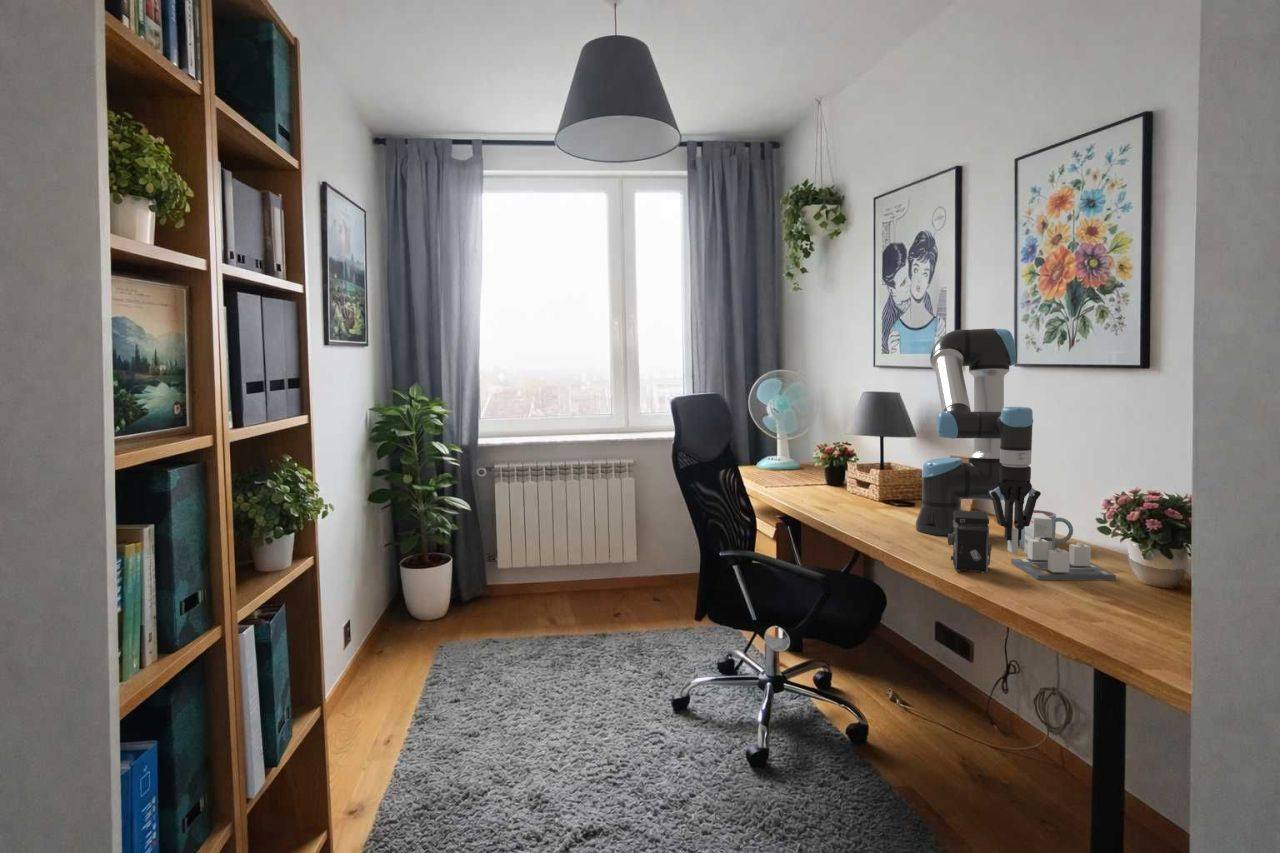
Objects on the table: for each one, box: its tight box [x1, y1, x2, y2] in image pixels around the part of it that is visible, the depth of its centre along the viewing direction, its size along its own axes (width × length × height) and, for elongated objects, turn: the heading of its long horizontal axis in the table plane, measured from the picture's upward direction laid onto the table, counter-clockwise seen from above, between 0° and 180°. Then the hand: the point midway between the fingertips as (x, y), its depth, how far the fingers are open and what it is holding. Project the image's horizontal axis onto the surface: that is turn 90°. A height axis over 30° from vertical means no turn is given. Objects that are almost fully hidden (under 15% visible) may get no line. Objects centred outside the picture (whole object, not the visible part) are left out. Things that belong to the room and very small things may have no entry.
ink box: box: [1023, 513, 1052, 556], centre depth 206 cm, size 9×5×12 cm, turn 168°
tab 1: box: [1027, 537, 1048, 560], centre depth 197 cm, size 3×4×6 cm, turn 87°
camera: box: [947, 510, 992, 574], centre depth 196 cm, size 10×11×15 cm
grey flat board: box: [1010, 558, 1117, 581], centre depth 192 cm, size 15×19×2 cm
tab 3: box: [1068, 541, 1092, 566], centre depth 191 cm, size 3×4×6 cm, turn 86°
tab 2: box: [1048, 547, 1070, 572], centre depth 187 cm, size 3×4×6 cm, turn 87°
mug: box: [1018, 509, 1074, 550], centre depth 215 cm, size 14×9×10 cm
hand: (1012, 551), depth 198 cm, fingers closed
